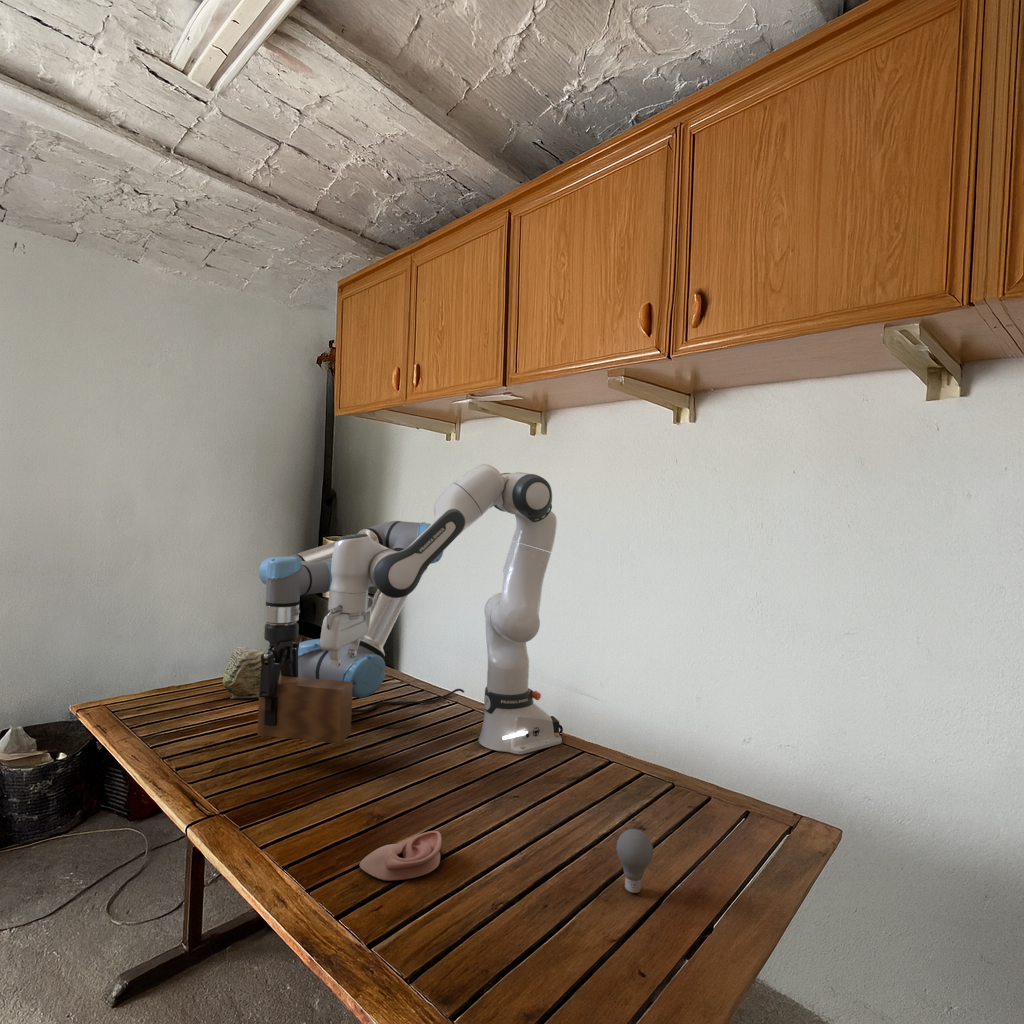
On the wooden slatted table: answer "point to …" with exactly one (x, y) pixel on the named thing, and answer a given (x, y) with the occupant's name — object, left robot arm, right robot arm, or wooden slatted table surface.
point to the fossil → (243, 673)
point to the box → (310, 710)
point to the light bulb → (634, 857)
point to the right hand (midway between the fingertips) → (343, 661)
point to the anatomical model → (405, 858)
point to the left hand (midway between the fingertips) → (278, 719)
